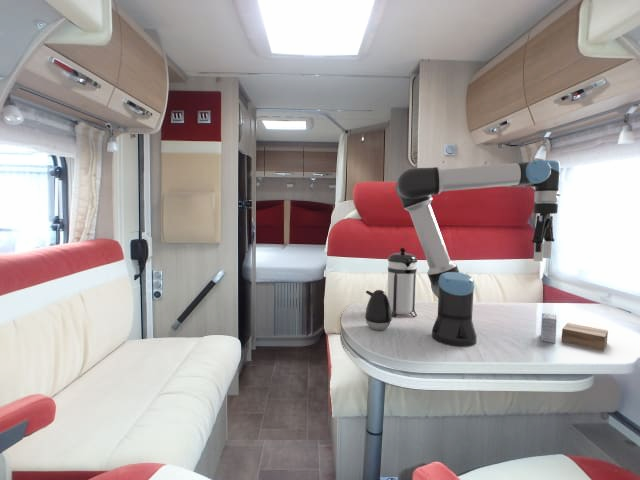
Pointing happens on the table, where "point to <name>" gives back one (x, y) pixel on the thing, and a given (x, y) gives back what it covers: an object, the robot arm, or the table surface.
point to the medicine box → (548, 328)
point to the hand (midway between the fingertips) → (542, 259)
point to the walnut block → (585, 336)
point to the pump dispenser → (378, 310)
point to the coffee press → (402, 283)
